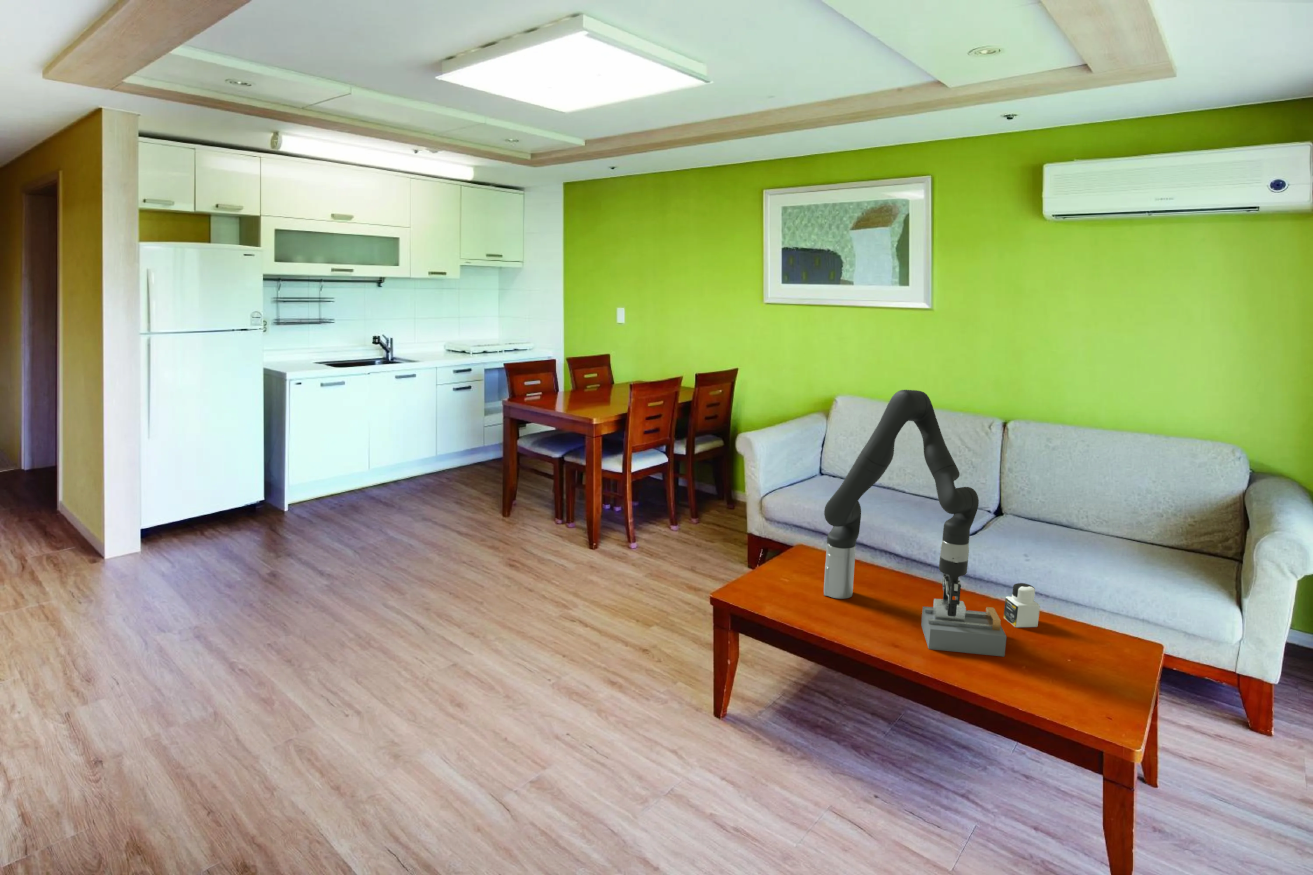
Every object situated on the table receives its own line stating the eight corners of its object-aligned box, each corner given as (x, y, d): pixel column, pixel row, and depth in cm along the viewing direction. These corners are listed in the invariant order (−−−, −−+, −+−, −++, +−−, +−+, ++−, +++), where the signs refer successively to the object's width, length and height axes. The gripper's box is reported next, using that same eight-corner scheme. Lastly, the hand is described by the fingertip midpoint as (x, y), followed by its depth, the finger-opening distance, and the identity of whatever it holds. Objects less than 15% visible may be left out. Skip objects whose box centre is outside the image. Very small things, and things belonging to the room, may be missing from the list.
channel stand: (928, 648, 217) (931, 618, 215) (921, 624, 233) (923, 596, 231) (1004, 656, 213) (1007, 626, 212) (991, 631, 229) (994, 603, 227)
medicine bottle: (1002, 617, 239) (1006, 581, 236) (1024, 617, 239) (1029, 580, 237) (1015, 627, 232) (1019, 590, 229) (1038, 627, 232) (1042, 589, 230)
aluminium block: (934, 621, 221) (936, 604, 220) (932, 614, 226) (933, 598, 225) (964, 623, 220) (965, 607, 219) (961, 617, 224) (963, 601, 223)
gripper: (936, 546, 226) (931, 598, 230) (944, 563, 213) (939, 618, 216) (963, 549, 225) (958, 601, 228) (972, 566, 211) (967, 621, 214)
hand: (949, 609), depth 222 cm, fingers open, 8 cm apart
